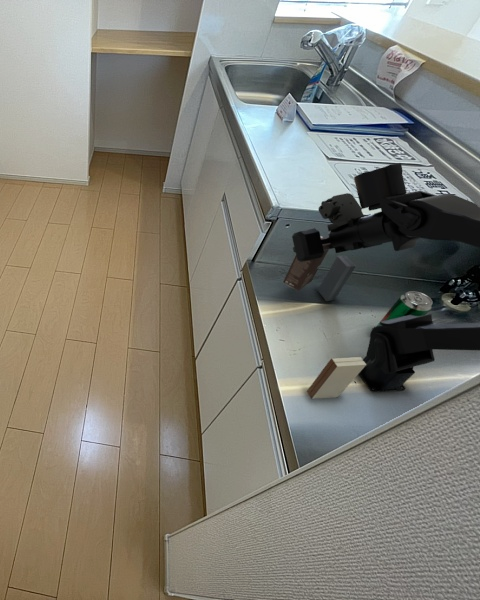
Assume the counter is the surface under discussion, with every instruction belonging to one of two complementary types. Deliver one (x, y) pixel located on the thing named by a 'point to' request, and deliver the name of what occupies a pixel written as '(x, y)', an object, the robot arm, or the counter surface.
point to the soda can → (409, 306)
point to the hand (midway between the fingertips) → (307, 246)
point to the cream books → (335, 377)
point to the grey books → (336, 278)
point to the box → (303, 271)
